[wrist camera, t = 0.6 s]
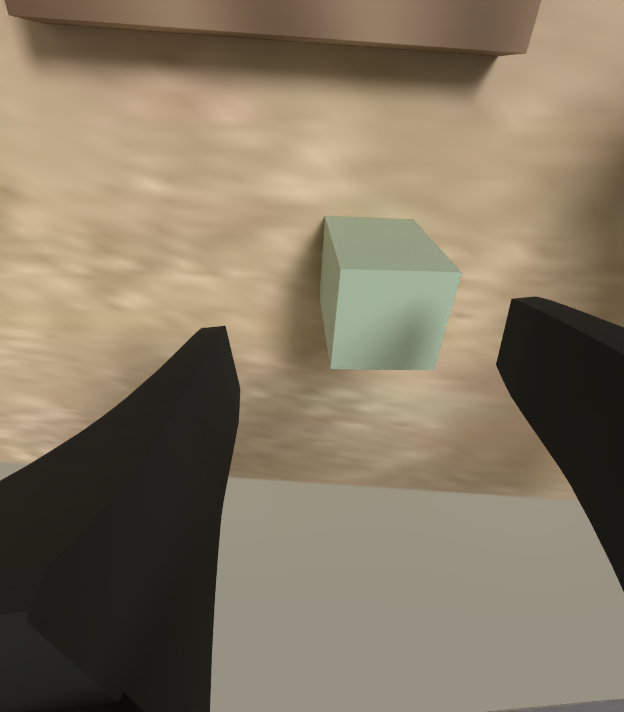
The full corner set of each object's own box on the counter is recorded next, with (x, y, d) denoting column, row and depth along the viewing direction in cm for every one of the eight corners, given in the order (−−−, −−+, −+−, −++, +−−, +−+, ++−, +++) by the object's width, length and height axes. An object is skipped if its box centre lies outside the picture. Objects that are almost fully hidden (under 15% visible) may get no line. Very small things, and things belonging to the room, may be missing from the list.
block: (413, 219, 18) (461, 272, 13) (397, 299, 20) (433, 370, 15) (325, 215, 18) (340, 269, 13) (319, 297, 20) (330, 369, 15)
